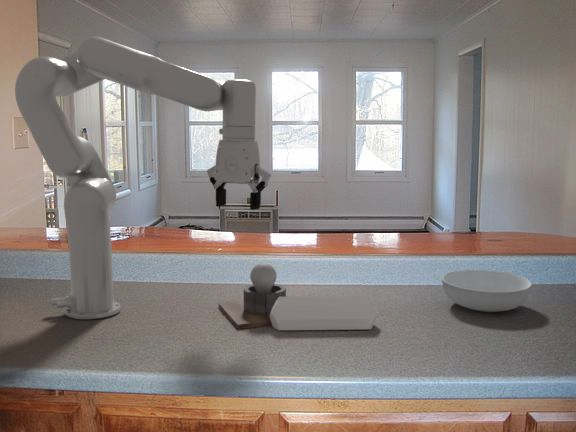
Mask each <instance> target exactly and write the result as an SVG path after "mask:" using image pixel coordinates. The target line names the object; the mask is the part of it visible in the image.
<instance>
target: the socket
mask: <svg viewBox="0 0 576 432" xmlns="http://www.w3.org/2000/svg"><path fill="white" fill-rule="evenodd" d="M279 297H290V296H288V295H287V288H286V287H285V286H284V285H281V284H278V283H277V284H276V283H274V285H273V287H272V289H271V293H256V289H255V287H254V285H253V284H251V285H247V286H245V287H244V288H243V300H238V301H225V302H224V301H223V302H218V308H219V309H220V310H221V312H222V313H223V314H224V315H225V317H227V318H228V320H229V321H230V322H231V323H232V324H233V325H234V327H235V328H236V329H237V330H241V329H250V328H261V327H268V326H273V325H272V323H271V320H270V316H269V315H270V313H271V310H272V308H273V306H274V304H275V302H276V300H277V299H278V298H279Z"/></svg>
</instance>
